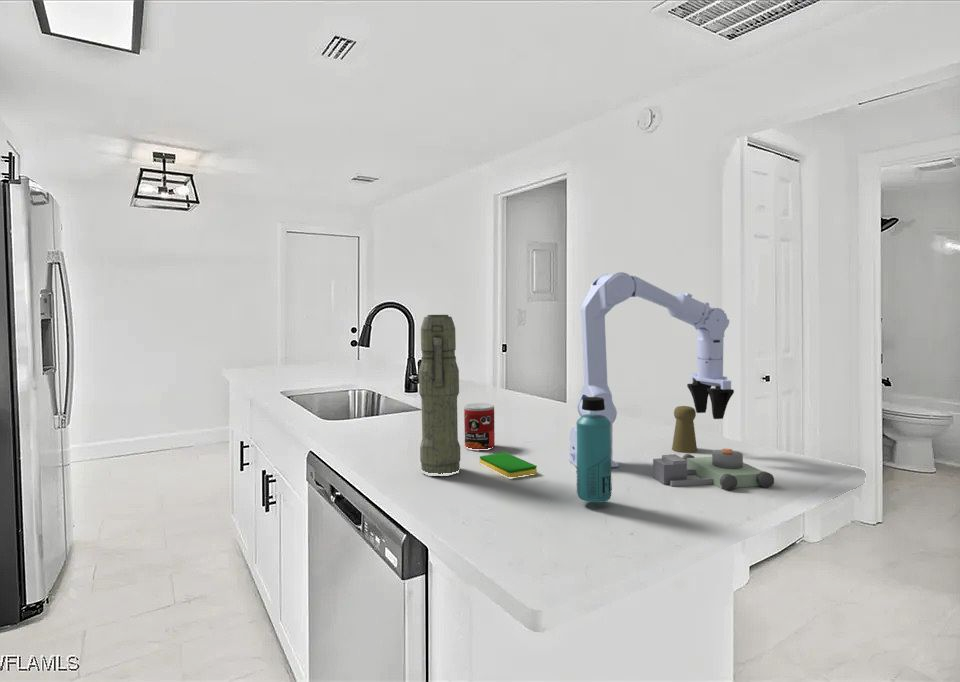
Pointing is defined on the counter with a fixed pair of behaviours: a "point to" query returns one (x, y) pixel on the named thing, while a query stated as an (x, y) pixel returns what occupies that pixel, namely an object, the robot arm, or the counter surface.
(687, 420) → the olive brown tapered figure
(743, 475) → the mower deck
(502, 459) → the dish sponge
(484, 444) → the canned food
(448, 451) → the olive green flashlight
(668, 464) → the grey block on ledge
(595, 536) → the counter surface
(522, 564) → the counter surface
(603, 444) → the beverage bottle
